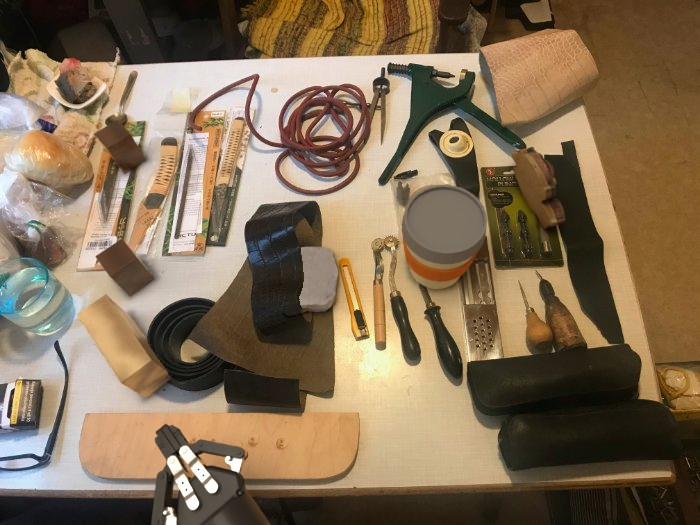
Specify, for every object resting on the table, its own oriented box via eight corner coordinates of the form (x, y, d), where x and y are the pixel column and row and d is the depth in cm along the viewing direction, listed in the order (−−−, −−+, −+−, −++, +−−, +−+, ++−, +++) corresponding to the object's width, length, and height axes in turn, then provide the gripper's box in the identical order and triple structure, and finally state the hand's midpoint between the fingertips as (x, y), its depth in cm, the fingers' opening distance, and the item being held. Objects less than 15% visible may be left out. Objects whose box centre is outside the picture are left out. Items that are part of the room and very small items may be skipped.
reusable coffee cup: (394, 238, 91) (396, 187, 78) (464, 231, 91) (479, 178, 78) (404, 303, 85) (408, 259, 72) (479, 295, 85) (498, 250, 71)
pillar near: (131, 297, 88) (109, 276, 81) (117, 278, 90) (94, 256, 83) (156, 279, 89) (136, 257, 82) (141, 261, 91) (122, 238, 84)
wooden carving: (567, 232, 90) (587, 198, 81) (543, 240, 89) (561, 207, 80) (520, 163, 97) (534, 126, 88) (498, 171, 97) (510, 134, 88)
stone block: (332, 255, 92) (276, 256, 90) (336, 242, 88) (277, 243, 86) (339, 317, 86) (279, 319, 85) (343, 306, 82) (280, 308, 80)
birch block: (146, 398, 79) (120, 383, 71) (104, 335, 85) (76, 314, 77) (174, 377, 81) (151, 359, 73) (131, 316, 86) (105, 294, 78)
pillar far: (125, 175, 101) (106, 148, 94) (113, 161, 103) (94, 133, 96) (147, 161, 102) (130, 133, 95) (135, 147, 104) (117, 119, 97)
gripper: (287, 505, 54) (198, 384, 61) (181, 602, 51) (99, 462, 57) (296, 509, 61) (215, 399, 68) (204, 595, 57) (128, 470, 64)
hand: (162, 429), depth 62 cm, fingers closed
